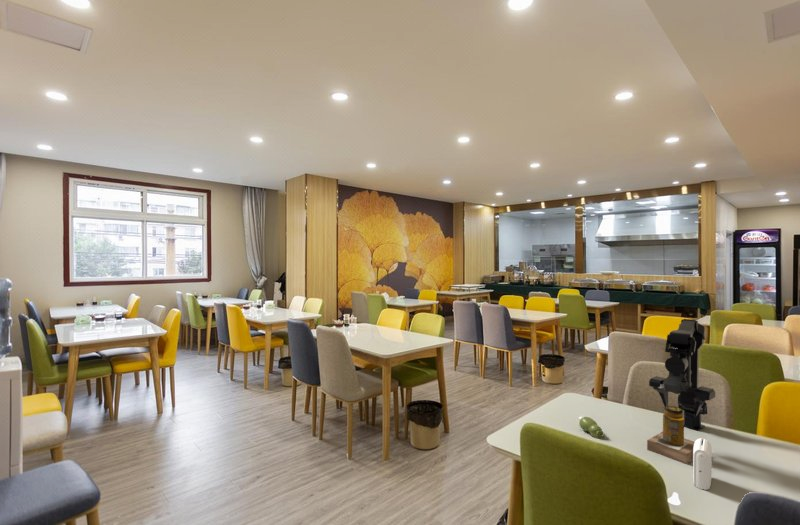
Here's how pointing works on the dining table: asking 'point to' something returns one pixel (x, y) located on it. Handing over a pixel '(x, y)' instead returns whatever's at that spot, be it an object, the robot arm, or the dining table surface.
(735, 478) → the dining table surface
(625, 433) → the dining table surface
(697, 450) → the photo printer
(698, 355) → the robot arm
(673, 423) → the condiment
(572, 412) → the dining table surface
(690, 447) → the brown flat box
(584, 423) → the pear
